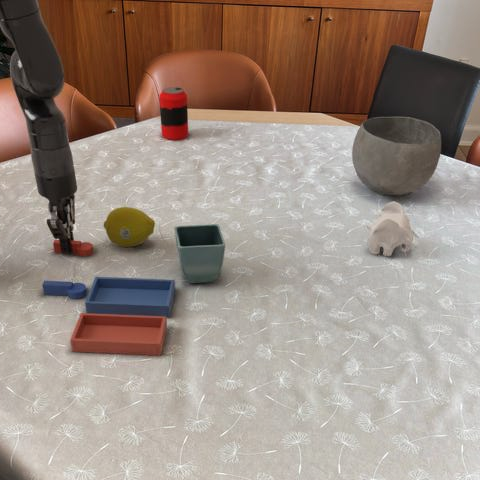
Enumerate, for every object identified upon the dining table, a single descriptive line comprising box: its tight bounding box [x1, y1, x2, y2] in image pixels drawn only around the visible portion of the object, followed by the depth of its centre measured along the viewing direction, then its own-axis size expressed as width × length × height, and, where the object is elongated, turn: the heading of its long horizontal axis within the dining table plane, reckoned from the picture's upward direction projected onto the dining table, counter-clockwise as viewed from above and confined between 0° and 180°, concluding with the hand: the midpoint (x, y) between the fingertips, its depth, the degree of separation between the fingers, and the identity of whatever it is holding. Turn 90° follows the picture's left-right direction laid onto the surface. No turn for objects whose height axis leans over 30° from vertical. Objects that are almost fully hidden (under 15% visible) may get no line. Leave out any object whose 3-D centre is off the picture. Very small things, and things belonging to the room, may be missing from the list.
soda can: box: [158, 86, 189, 141], centre depth 181 cm, size 8×8×12 cm
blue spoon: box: [41, 280, 88, 300], centre depth 123 cm, size 8×4×2 cm, turn 88°
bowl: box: [351, 116, 442, 196], centre depth 156 cm, size 20×20×15 cm
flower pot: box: [173, 223, 226, 284], centre depth 126 cm, size 9×9×9 cm
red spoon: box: [52, 239, 95, 257], centre depth 135 cm, size 8×4×2 cm, turn 88°
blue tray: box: [84, 276, 176, 318], centre depth 121 cm, size 15×9×2 cm, turn 88°
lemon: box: [103, 206, 156, 248], centre depth 136 cm, size 11×8×8 cm
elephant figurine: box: [363, 201, 421, 257], centre depth 136 cm, size 10×12×9 cm
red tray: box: [69, 312, 168, 356], centre depth 113 cm, size 15×8×2 cm, turn 88°
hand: (68, 250), depth 135 cm, fingers closed on red spoon, 1 cm apart
